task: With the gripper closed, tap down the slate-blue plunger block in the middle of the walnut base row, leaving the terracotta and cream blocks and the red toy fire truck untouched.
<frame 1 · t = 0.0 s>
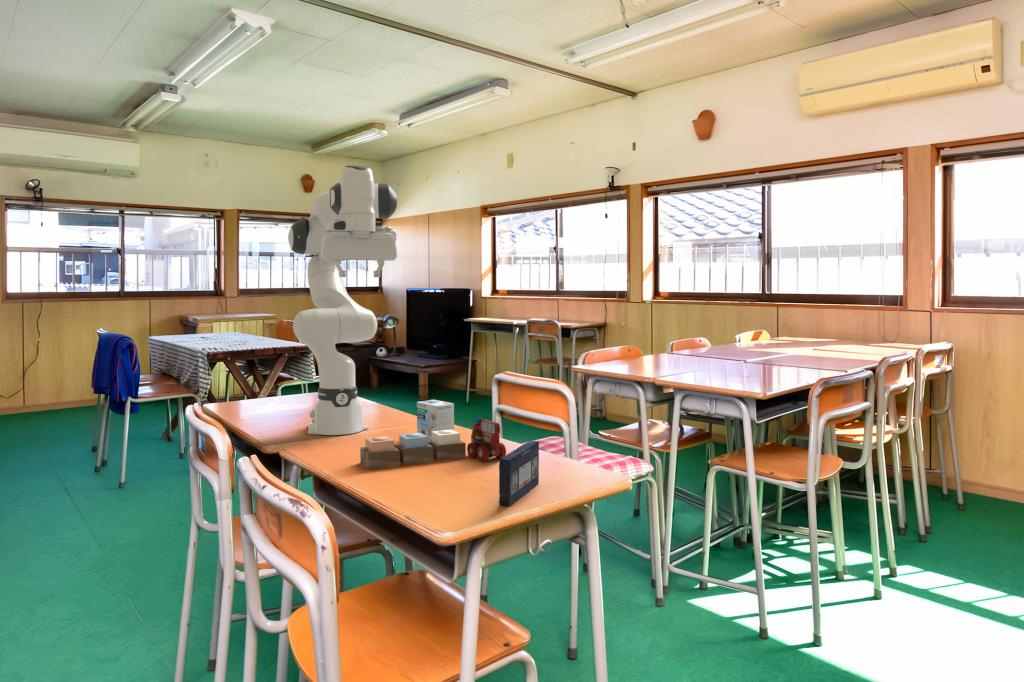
hand: (359, 277, 186), 48 cm above the table, fingers open, 8 cm apart
slate block: (413, 442, 178), point 5 cm above the table, slide at 0.0 cm
terracotta block: (379, 446, 174), point 5 cm above the table, slide at 0.0 cm
cream block: (445, 439, 182), point 5 cm above the table, slide at 0.0 cm
vhs cassette tape: (520, 495, 148), on the table
toy fire truck: (486, 458, 181), on the table
light bulb box: (435, 438, 207), on the table
walnut bases: (413, 460, 179), on the table
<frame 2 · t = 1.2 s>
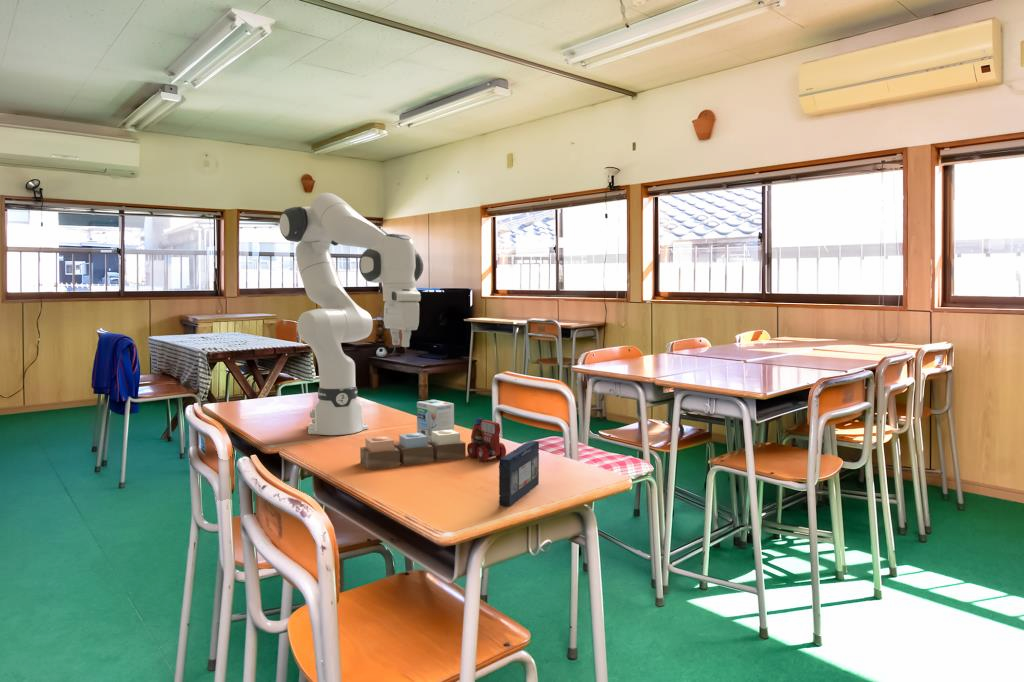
hand: (400, 345, 184), 29 cm above the table, fingers open, 7 cm apart
nothing on the table moved.
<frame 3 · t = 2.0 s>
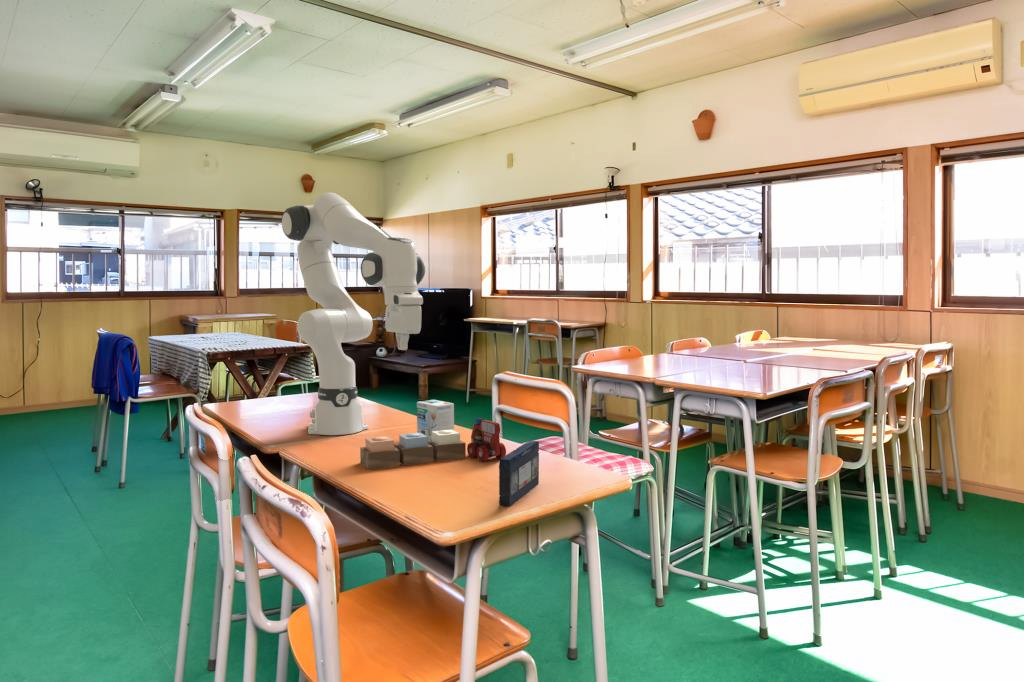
hand: (402, 349, 184), 28 cm above the table, fingers closed
nothing on the table moved.
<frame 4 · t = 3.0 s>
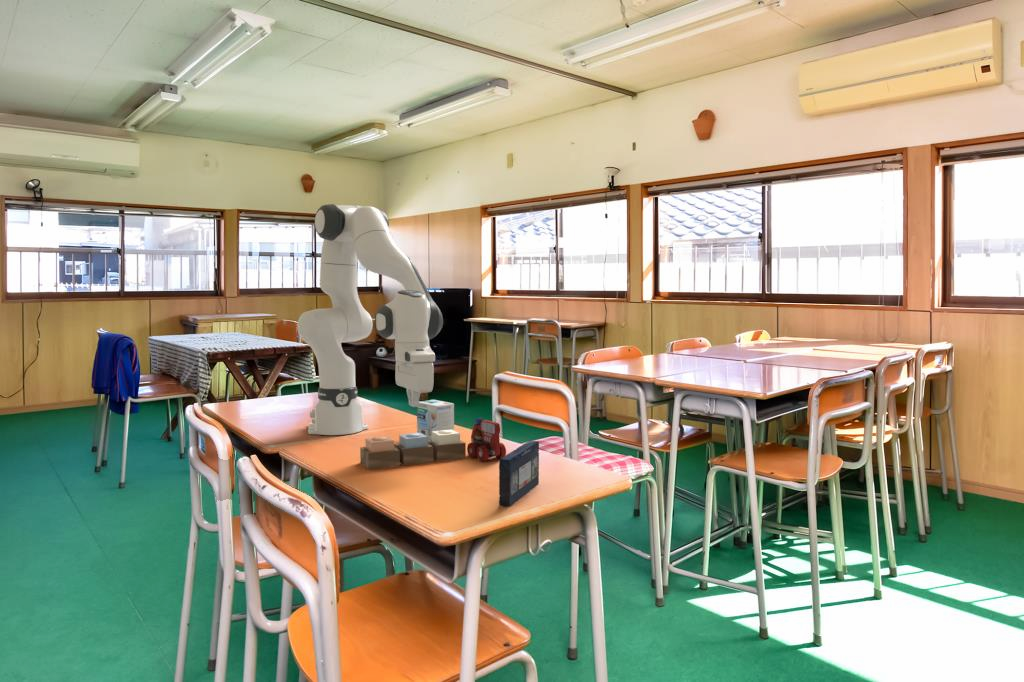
hand: (413, 406, 177), 14 cm above the table, fingers closed
nothing on the table moved.
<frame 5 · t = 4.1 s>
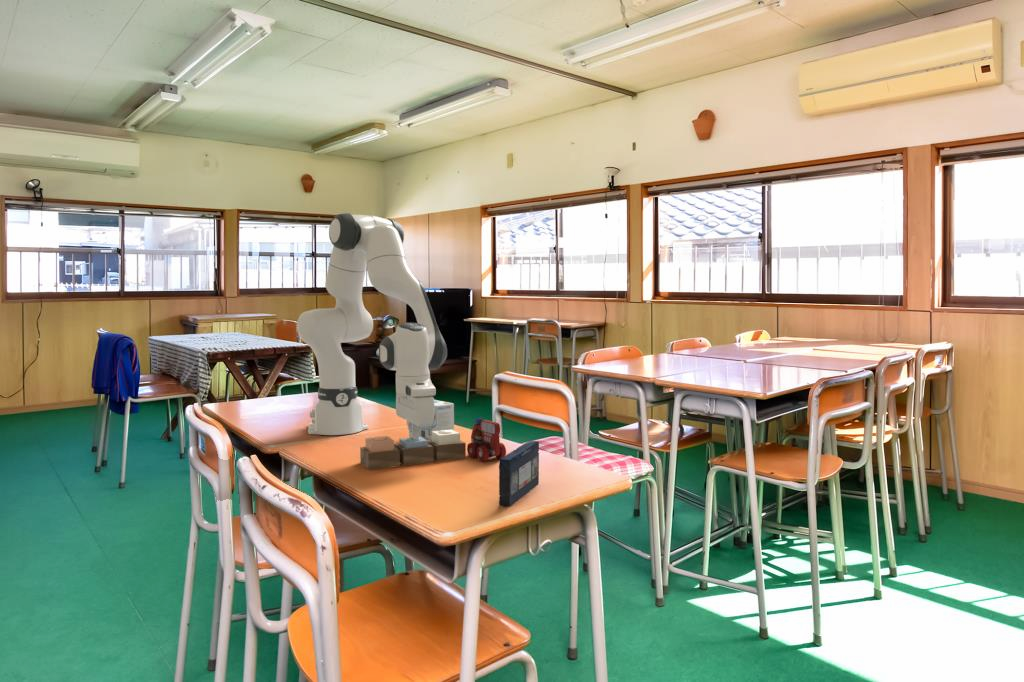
hand: (414, 438, 178), 6 cm above the table, fingers closed, pressing on slate block
slate block: (413, 446, 178), point 4 cm above the table, slide at 1.1 cm, touching gripper
everything else where it was.
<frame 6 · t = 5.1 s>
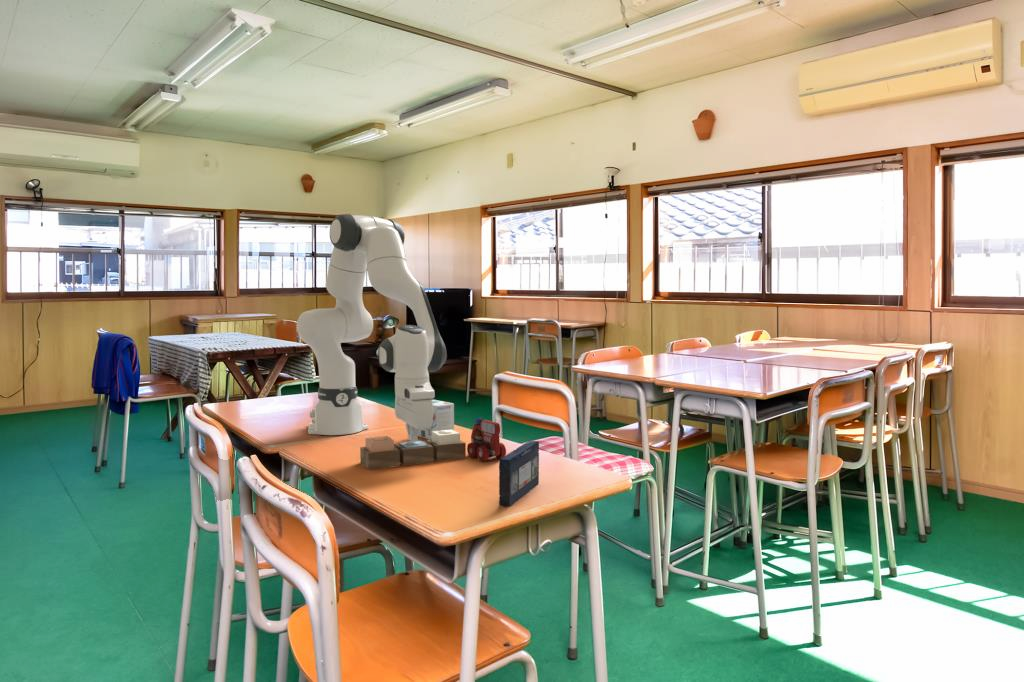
hand: (412, 440, 178), 5 cm above the table, fingers closed
slate block: (413, 450, 178), point 2 cm above the table, slide at 2.2 cm
everything else where it was.
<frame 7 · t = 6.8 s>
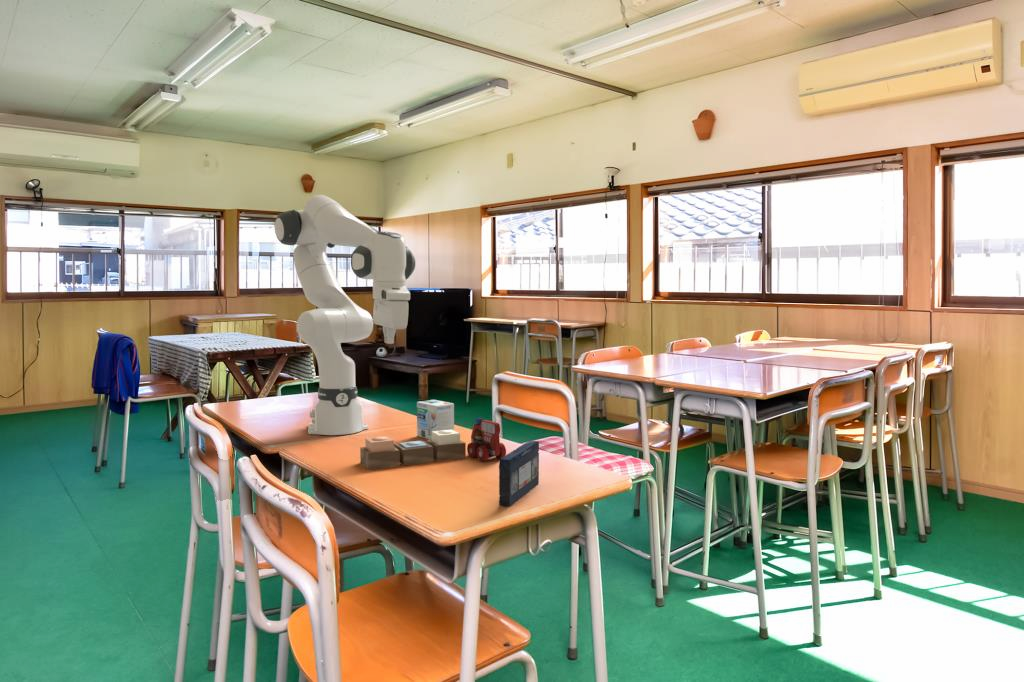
hand: (389, 343, 186), 30 cm above the table, fingers closed
nothing on the table moved.
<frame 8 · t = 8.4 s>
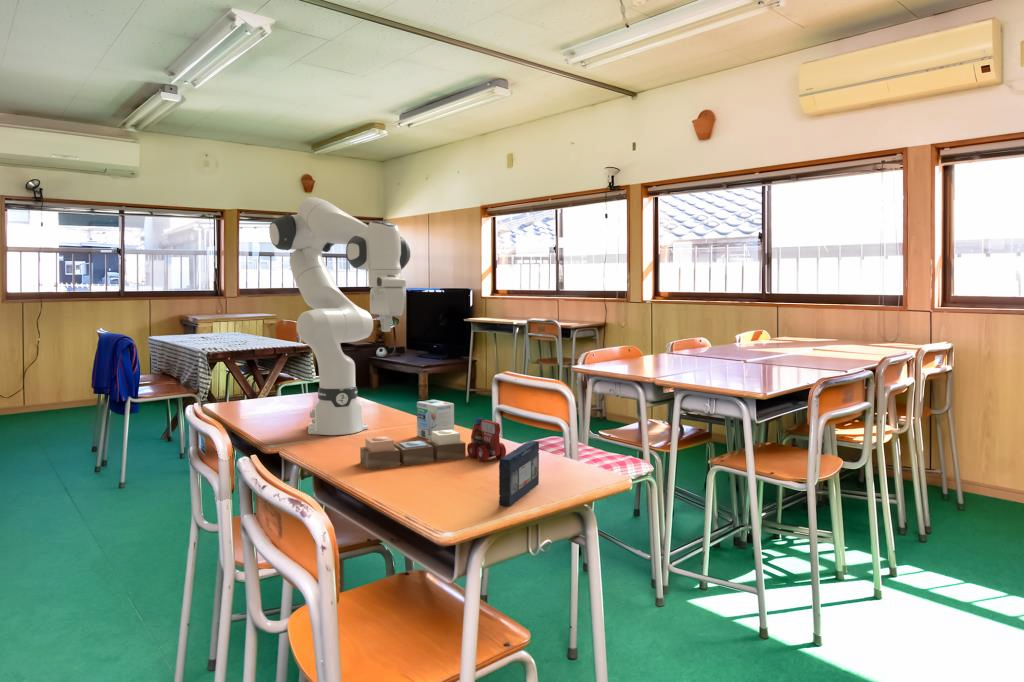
hand: (386, 331, 186), 33 cm above the table, fingers closed
nothing on the table moved.
at the end: slate block slide at 2.2 cm; terracotta block slide at 0.0 cm; cream block slide at 0.0 cm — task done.
